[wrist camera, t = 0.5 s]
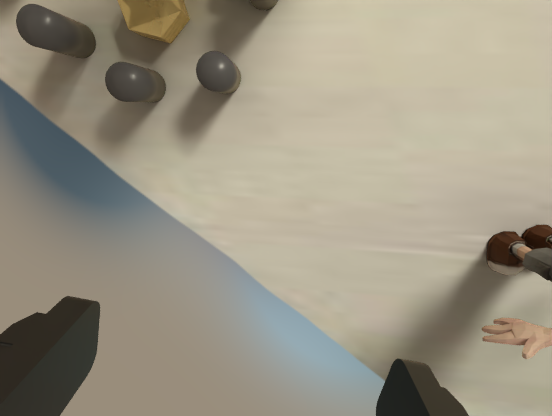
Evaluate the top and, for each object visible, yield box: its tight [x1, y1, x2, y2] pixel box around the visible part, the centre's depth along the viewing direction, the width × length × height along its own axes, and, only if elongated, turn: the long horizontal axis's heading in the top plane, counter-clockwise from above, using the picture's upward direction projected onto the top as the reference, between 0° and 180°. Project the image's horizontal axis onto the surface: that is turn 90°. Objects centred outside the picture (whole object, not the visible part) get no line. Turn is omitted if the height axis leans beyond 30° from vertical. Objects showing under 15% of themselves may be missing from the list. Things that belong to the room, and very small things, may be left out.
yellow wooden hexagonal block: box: [118, 0, 190, 43], centre depth 30 cm, size 5×6×3 cm
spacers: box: [16, 0, 278, 102], centre depth 29 cm, size 14×19×6 cm
